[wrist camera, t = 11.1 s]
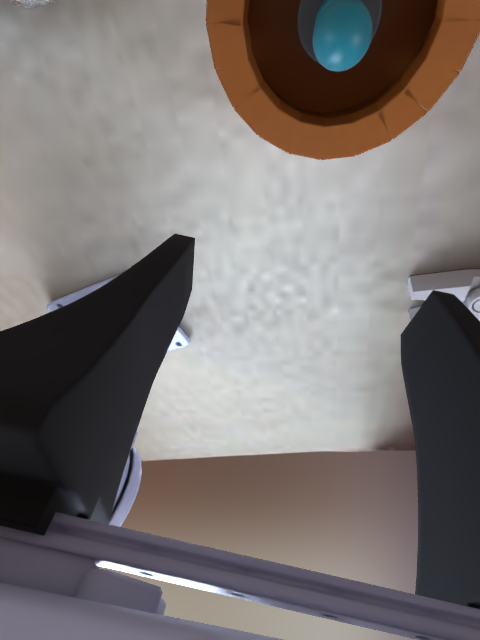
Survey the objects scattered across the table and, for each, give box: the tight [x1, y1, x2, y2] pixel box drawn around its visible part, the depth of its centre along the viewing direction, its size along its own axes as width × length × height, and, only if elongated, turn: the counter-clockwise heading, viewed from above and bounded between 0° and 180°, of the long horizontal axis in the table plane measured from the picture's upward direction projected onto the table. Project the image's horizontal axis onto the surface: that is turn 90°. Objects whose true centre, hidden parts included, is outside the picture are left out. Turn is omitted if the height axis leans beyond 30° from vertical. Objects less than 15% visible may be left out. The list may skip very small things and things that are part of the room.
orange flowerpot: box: [206, 0, 480, 160], centre depth 12 cm, size 8×8×5 cm
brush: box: [297, 0, 383, 72], centre depth 11 cm, size 3×3×8 cm
